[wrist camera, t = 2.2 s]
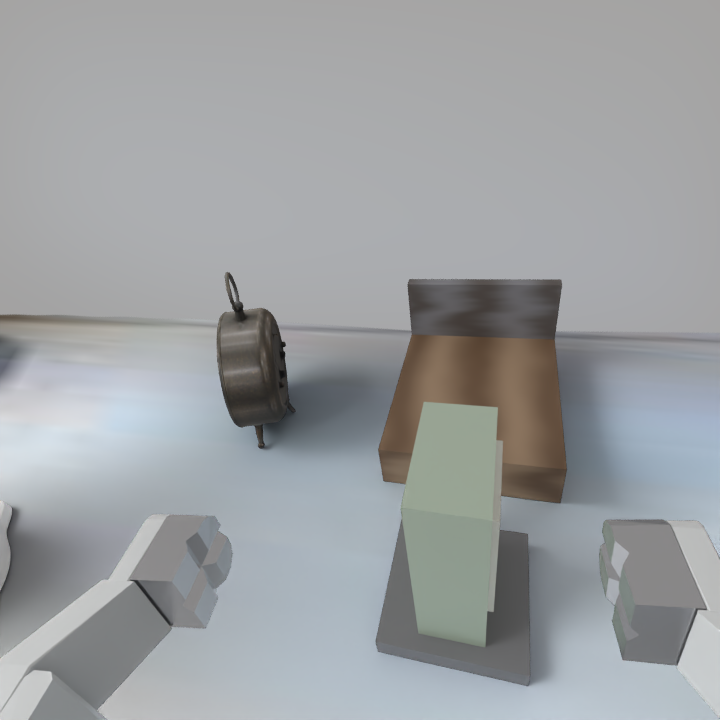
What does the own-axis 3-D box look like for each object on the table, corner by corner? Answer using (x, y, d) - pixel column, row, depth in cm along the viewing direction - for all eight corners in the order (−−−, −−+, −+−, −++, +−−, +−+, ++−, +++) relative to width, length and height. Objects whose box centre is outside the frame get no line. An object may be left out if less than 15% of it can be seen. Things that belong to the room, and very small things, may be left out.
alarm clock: (252, 386, 53) (204, 253, 44) (299, 377, 53) (262, 242, 44) (244, 460, 45) (182, 314, 35) (301, 449, 45) (254, 302, 35)
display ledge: (383, 481, 40) (368, 394, 34) (415, 358, 53) (409, 279, 47) (560, 503, 37) (578, 409, 31) (549, 365, 49) (561, 279, 43)
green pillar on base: (378, 651, 30) (342, 518, 21) (404, 527, 37) (384, 387, 28) (528, 686, 28) (556, 551, 19) (526, 545, 34) (546, 398, 26)
